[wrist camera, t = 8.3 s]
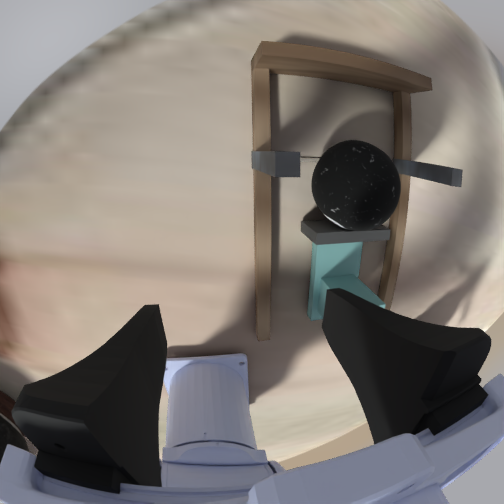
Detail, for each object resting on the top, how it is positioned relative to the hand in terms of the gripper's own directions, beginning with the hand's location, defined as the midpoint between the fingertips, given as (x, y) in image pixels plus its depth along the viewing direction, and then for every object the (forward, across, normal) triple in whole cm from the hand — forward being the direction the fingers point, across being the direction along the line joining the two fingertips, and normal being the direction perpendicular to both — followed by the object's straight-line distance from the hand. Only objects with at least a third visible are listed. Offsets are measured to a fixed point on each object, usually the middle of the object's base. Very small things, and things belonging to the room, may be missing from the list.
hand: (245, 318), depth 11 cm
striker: (+10, -8, +4) cm, 14 cm away
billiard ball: (+10, -8, -5) cm, 14 cm away
